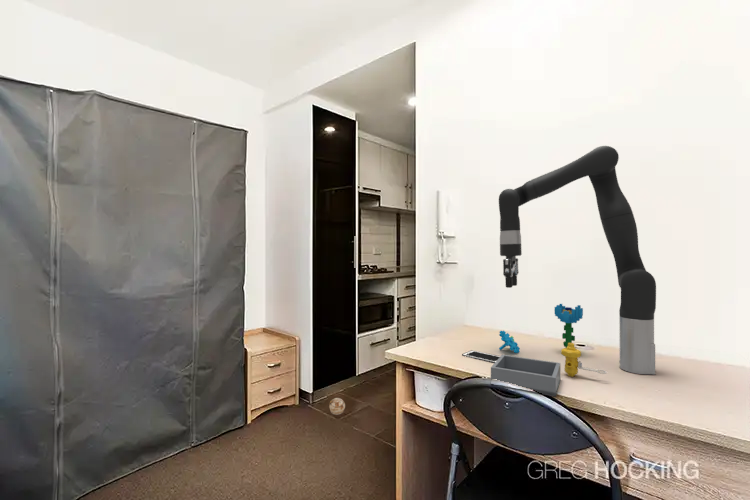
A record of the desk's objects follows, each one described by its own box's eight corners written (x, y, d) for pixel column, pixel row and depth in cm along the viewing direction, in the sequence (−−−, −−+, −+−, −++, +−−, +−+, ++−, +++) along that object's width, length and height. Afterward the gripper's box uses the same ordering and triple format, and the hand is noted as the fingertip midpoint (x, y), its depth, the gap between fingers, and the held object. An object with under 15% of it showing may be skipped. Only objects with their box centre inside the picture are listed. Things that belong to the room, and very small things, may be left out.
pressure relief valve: (564, 371, 116) (564, 340, 116) (608, 380, 109) (608, 346, 109) (560, 376, 112) (560, 343, 112) (605, 385, 104) (605, 350, 104)
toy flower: (579, 357, 131) (579, 308, 131) (552, 353, 137) (552, 305, 137) (584, 351, 138) (584, 305, 138) (558, 347, 144) (558, 302, 144)
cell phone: (498, 365, 124) (498, 362, 124) (460, 356, 134) (460, 354, 134) (508, 360, 129) (508, 357, 129) (471, 352, 139) (471, 350, 139)
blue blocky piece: (518, 354, 132) (498, 332, 136) (506, 363, 135) (487, 341, 138) (524, 347, 142) (506, 326, 145) (512, 355, 144) (495, 335, 148)
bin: (560, 379, 109) (560, 362, 109) (555, 396, 96) (555, 378, 96) (502, 369, 118) (502, 354, 118) (490, 384, 105) (490, 367, 105)
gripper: (517, 242, 127) (518, 288, 127) (524, 243, 139) (525, 285, 139) (495, 243, 131) (496, 288, 131) (504, 243, 143) (505, 284, 143)
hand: (511, 286), depth 135 cm, fingers open, 8 cm apart
